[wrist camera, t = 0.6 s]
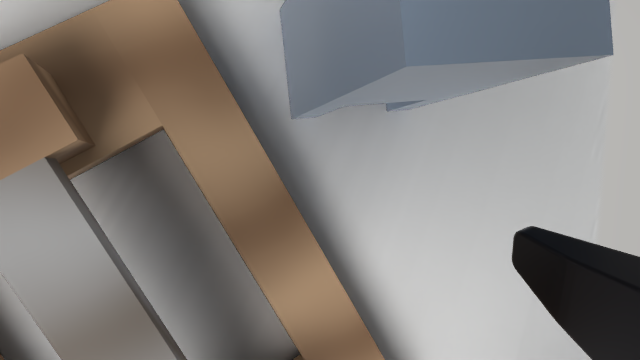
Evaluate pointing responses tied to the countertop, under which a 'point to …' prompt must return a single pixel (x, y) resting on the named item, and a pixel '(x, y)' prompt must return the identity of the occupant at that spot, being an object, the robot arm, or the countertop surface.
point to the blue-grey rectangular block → (430, 48)
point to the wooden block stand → (113, 138)
